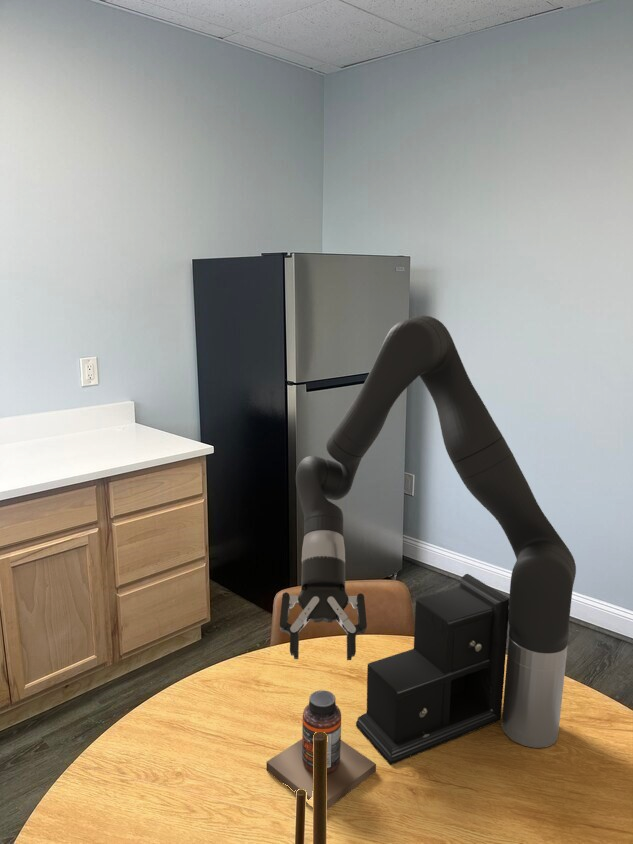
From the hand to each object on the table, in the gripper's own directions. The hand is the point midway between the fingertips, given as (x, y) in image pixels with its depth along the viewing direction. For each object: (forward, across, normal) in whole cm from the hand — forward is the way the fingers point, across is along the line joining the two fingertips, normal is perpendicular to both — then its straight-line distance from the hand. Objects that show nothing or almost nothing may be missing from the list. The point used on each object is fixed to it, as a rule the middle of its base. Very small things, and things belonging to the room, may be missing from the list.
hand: (322, 658), depth 107 cm
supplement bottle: (+14, 0, +5) cm, 15 cm away
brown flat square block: (+15, 0, +6) cm, 17 cm away
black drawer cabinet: (+8, +18, +14) cm, 25 cm away
